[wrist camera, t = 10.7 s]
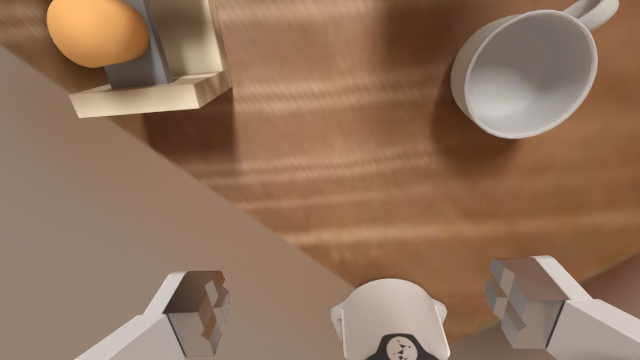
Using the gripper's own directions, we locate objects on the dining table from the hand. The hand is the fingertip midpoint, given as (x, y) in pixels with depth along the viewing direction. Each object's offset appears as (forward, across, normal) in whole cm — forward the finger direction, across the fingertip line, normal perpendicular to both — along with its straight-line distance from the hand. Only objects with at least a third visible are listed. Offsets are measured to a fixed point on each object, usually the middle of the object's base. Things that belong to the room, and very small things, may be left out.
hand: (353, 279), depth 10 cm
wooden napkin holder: (+29, +17, -8) cm, 35 cm away
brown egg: (+21, +17, -8) cm, 28 cm away
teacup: (+29, -18, -2) cm, 35 cm away
